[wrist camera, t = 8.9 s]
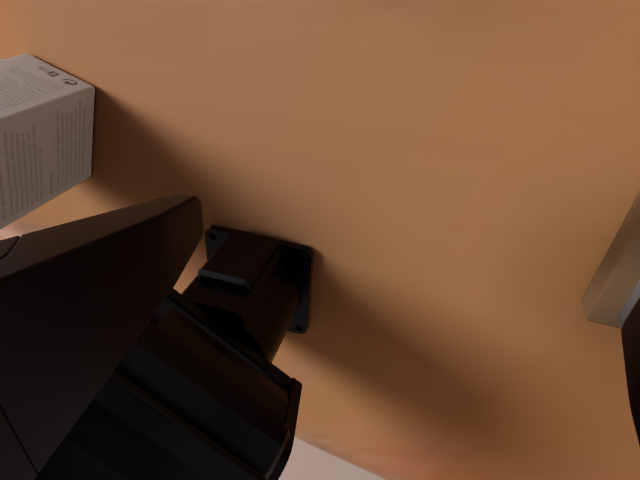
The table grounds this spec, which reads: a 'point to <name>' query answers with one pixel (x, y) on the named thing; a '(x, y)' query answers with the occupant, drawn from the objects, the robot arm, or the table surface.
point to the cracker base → (617, 276)
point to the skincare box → (41, 134)
